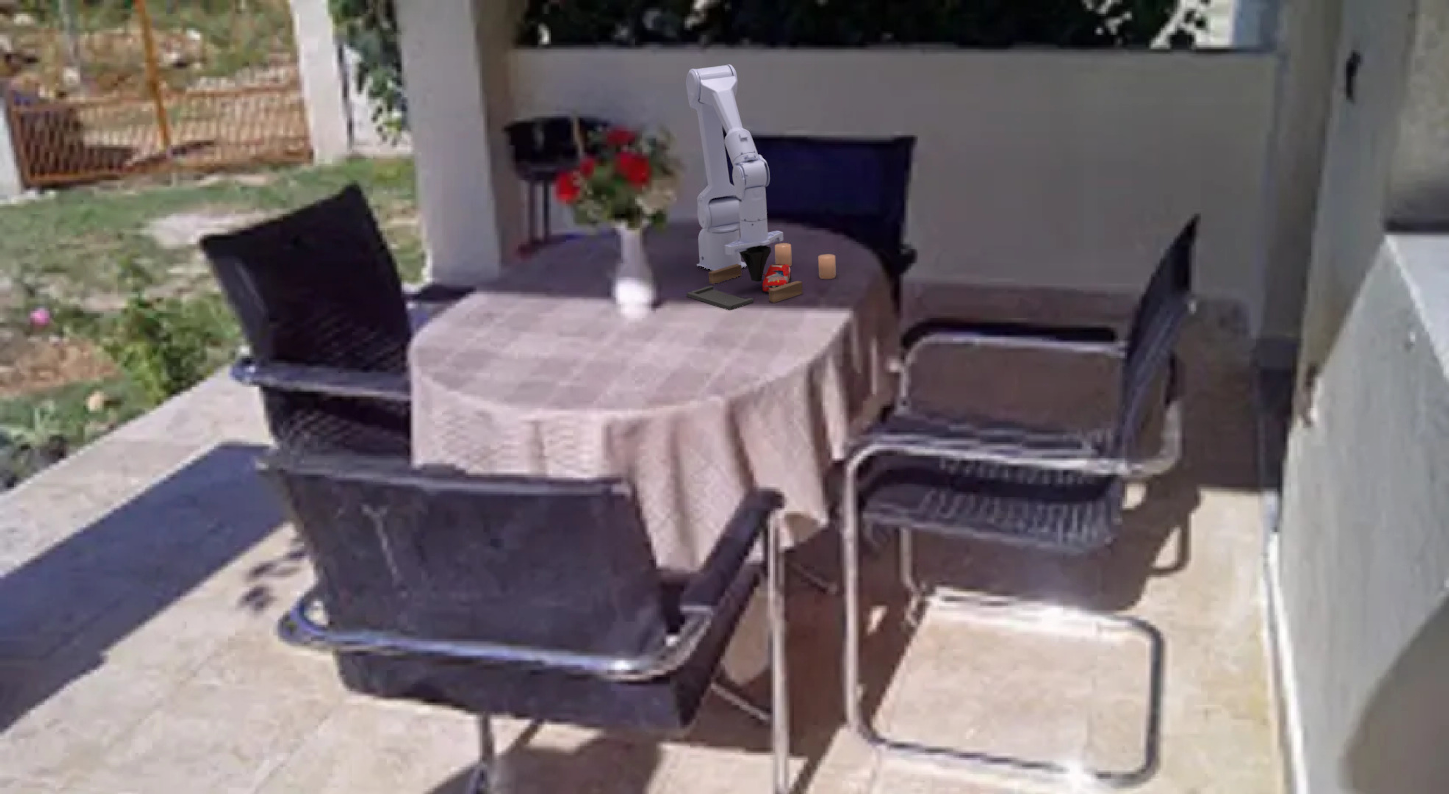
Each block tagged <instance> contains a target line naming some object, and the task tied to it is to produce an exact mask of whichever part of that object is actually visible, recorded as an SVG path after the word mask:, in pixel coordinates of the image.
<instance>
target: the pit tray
mask: <svg viewBox="0 0 1449 794" xmlns="http://www.w3.org/2000/svg"><path fill="white" fill-rule="evenodd" d="M714 291H715V292H714ZM723 294H724V295H723ZM726 294H729V295H726ZM686 297H687V298H690V297H691V298H690V299H693V298H694V299H693V300H695V301H696V300H697V301H699V300H700V301H699V302H702V301H703V303H705V302H706V304H709V305H712V306H715V305H716V306H715V307H719V308H722V309H724V308H726V309H725V310H727V309H728V310H727V311H731V310H734V308H735V309H737V307H738V308H740V307H739V306H741V307H743V306H742V305H744V306H747V305H750V304H753V302H754V301H755V300H754V298H753V297H749V298H743V297H741V298H740V297H739V296H736V295H734V294H730V293H728V292H723V291H721V290H718V289H714V285H709V286H704V287H702V288H699V289H695V290H691V291H689V292H686ZM725 297H726V298H725ZM725 302H726V303H725ZM749 303H750V304H749ZM754 303H755V302H754ZM746 304H747V305H746Z"/></svg>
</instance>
